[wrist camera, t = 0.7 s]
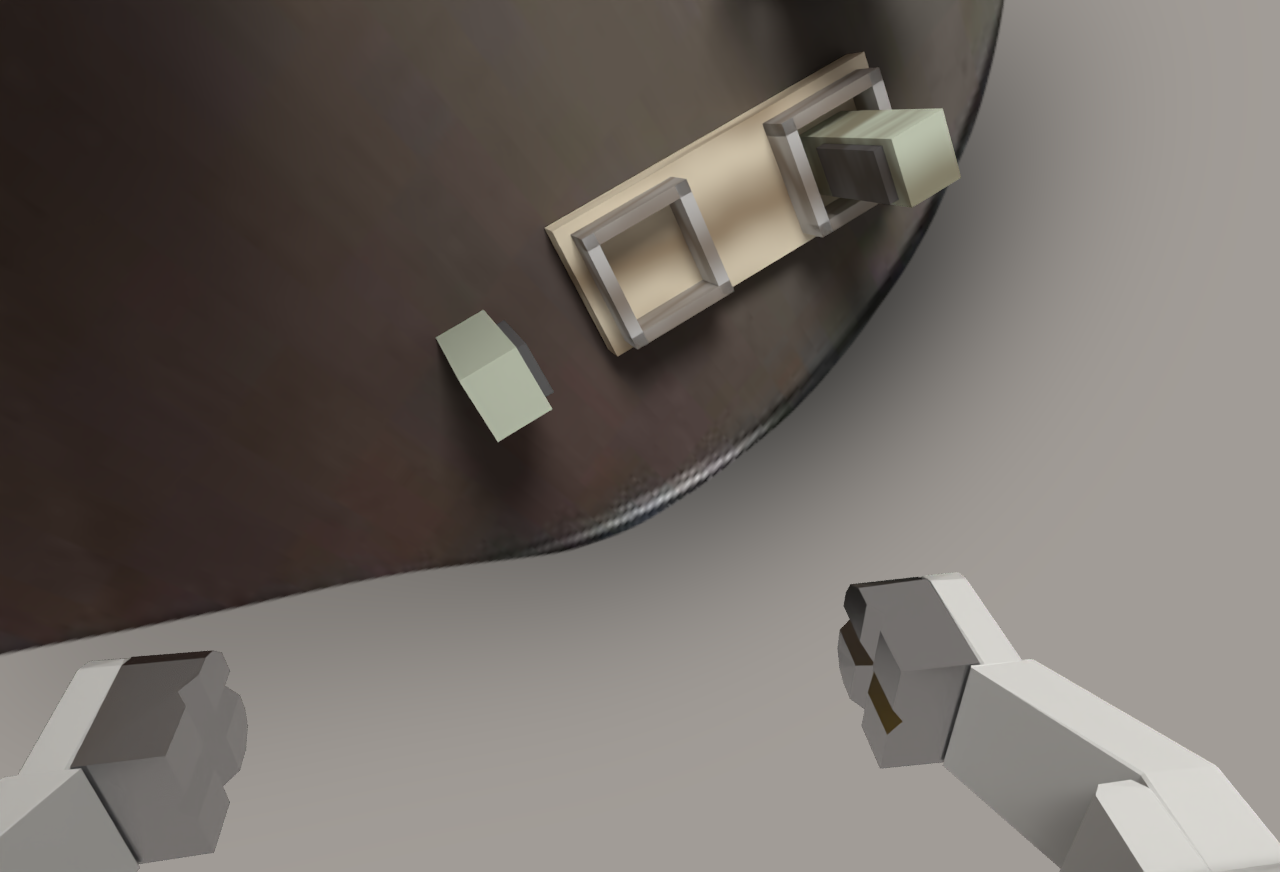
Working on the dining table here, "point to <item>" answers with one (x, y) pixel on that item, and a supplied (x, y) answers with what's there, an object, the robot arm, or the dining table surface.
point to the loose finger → (497, 373)
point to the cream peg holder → (748, 199)
